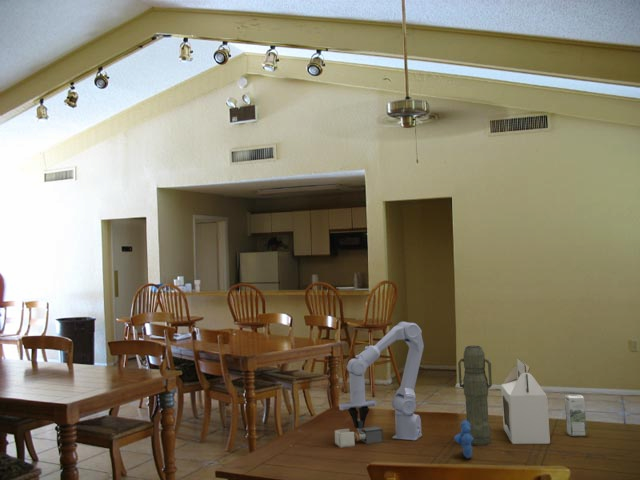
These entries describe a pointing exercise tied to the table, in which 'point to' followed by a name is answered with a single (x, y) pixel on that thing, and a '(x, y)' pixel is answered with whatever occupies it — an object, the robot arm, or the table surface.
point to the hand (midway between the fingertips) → (359, 427)
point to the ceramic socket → (344, 438)
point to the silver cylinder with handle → (359, 434)
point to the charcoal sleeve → (373, 434)
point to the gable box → (524, 407)
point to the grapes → (465, 439)
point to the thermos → (476, 393)
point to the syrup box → (575, 415)
